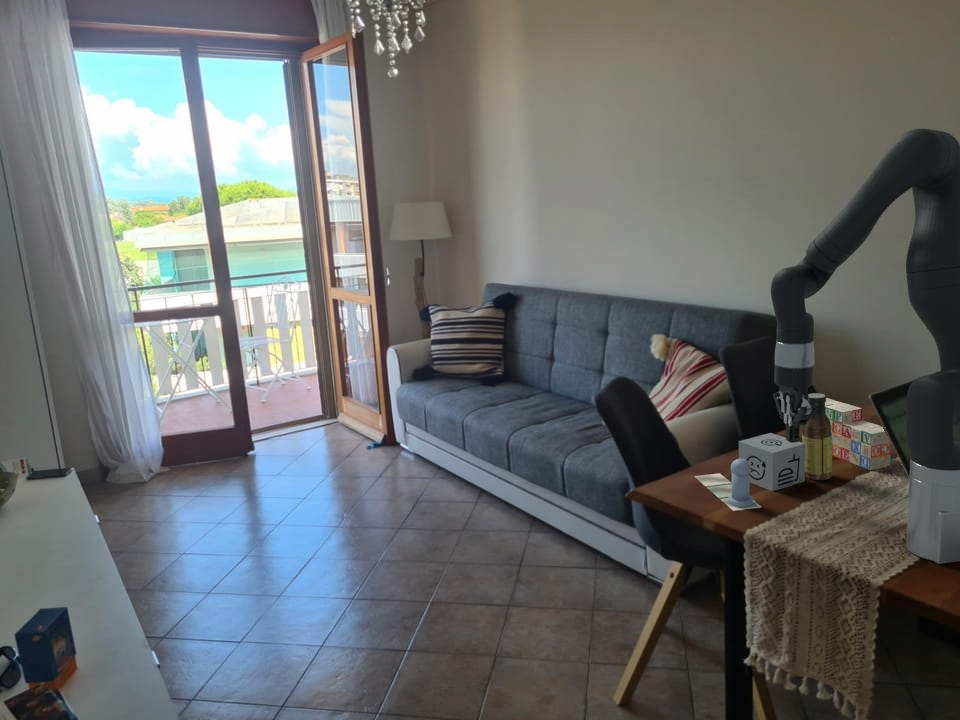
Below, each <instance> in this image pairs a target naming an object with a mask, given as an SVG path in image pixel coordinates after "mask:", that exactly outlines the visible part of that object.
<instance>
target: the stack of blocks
mask: <svg viewBox="0 0 960 720" xmlns="http://www.w3.org/2000/svg"><path fill="white" fill-rule="evenodd" d="M825 411H826V415H827V417H828V419H829V420H830V424H831V434H832V457H835V458H838V459H841V460H843V461H845V462H849V463H851V464H853V465H856V466H858V467H861V468H863V469H864V470H868V471H873V470H878V469H883V467H884V468H888V467H887V466H889V467H890V466H891V454H892V442H890V440H889V438H888V436H887V435H886V433H885V431H884V429H883V427H884V426H882V425H879V424H876V423H873V422H870V421H865V420H863V408H861V407H859V406H855V405H852V404H848V403H845V402H841V401H837V400H835V399H831V398H829V397H826V402H825Z"/></svg>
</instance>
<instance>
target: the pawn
mask: <svg viewBox="0 0 960 720" xmlns="http://www.w3.org/2000/svg"><path fill="white" fill-rule="evenodd" d="M750 470H751V467H750V464H749V463H748V462H747V461H746V460H744V459H739V458H737V459H735V460H733V461H732V463H731V464H730V471H731V484H732V494H731V495H729V496H728V497H727V498H728V503H729V504H730V505H731V506H734V507H739V508H747V507H750V506H752V505H753V500H754V498H753V496H751V495H750V492H751V491H750V487H751V486H750V483H751V482H750Z"/></svg>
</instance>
